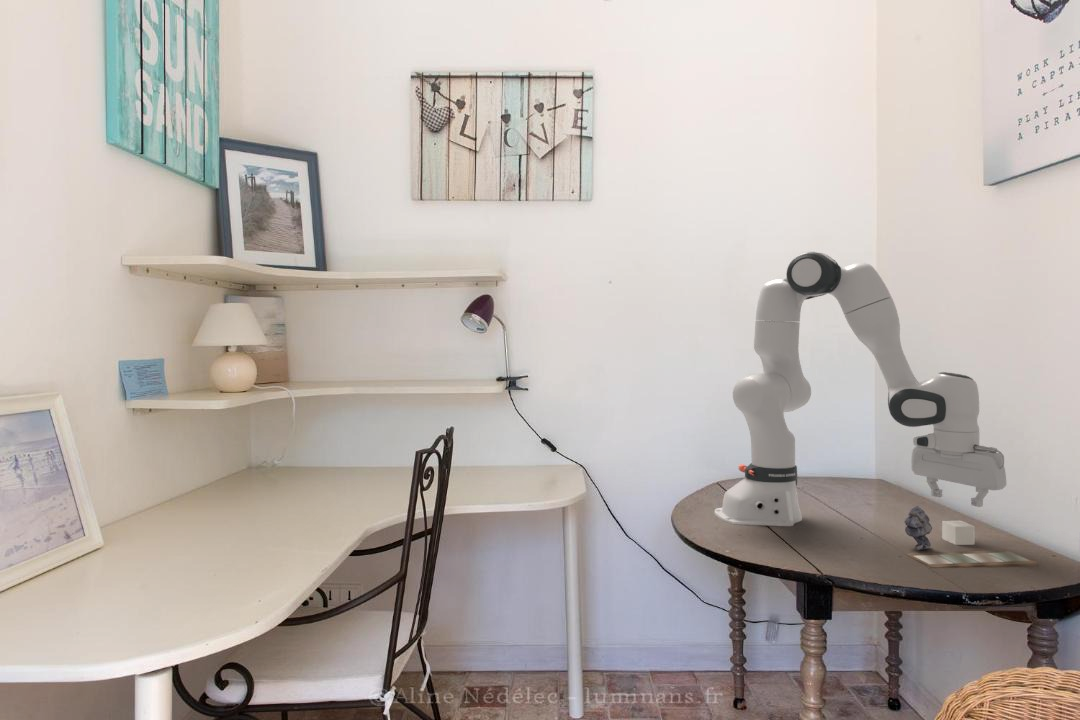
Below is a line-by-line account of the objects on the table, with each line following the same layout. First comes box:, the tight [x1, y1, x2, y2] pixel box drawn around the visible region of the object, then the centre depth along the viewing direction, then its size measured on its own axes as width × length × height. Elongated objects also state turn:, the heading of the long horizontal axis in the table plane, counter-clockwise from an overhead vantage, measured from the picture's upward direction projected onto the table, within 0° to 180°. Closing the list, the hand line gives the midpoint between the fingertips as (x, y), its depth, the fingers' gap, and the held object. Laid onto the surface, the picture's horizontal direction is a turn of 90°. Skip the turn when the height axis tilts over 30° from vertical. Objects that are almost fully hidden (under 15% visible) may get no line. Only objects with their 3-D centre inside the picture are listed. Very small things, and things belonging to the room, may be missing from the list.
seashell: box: [904, 505, 933, 551], centre depth 138 cm, size 5×5×10 cm
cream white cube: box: [941, 520, 976, 546], centre depth 143 cm, size 4×4×4 cm
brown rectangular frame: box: [905, 549, 1039, 569], centre depth 130 cm, size 23×8×1 cm, turn 93°
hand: (956, 501), depth 142 cm, fingers open, 8 cm apart
